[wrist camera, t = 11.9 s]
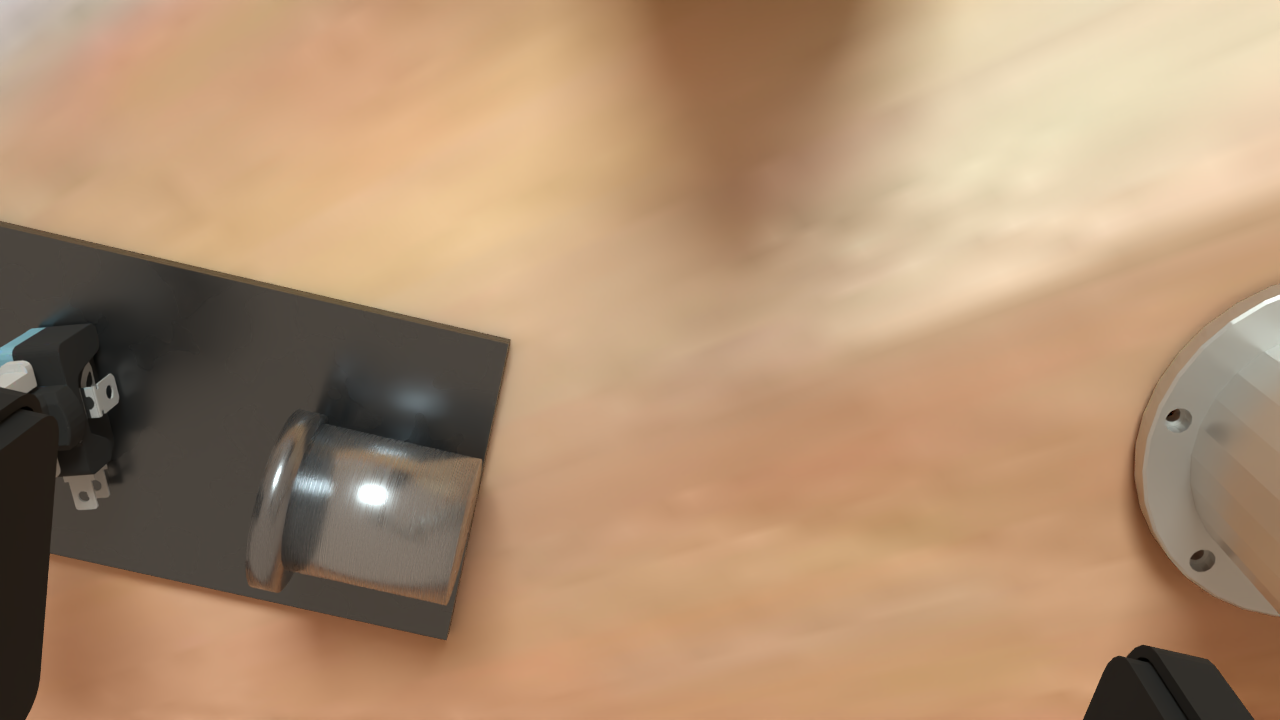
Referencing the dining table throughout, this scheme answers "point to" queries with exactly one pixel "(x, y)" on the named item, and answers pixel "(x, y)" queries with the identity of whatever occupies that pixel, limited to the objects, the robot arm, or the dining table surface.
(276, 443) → the plate with silver knobs
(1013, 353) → the dining table surface
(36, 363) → the push button
